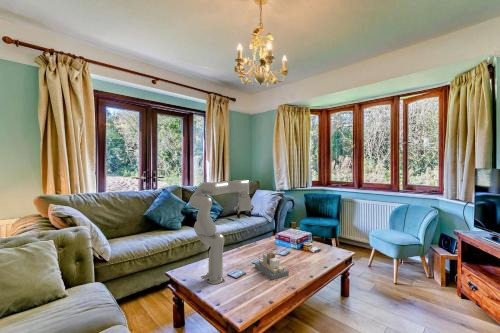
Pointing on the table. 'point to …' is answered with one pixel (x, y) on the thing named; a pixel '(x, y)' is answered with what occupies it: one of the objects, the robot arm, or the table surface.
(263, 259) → the block
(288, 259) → the table surface
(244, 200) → the robot arm
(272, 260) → the crate
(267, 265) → the pallet
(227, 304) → the table surface
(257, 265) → the dock
